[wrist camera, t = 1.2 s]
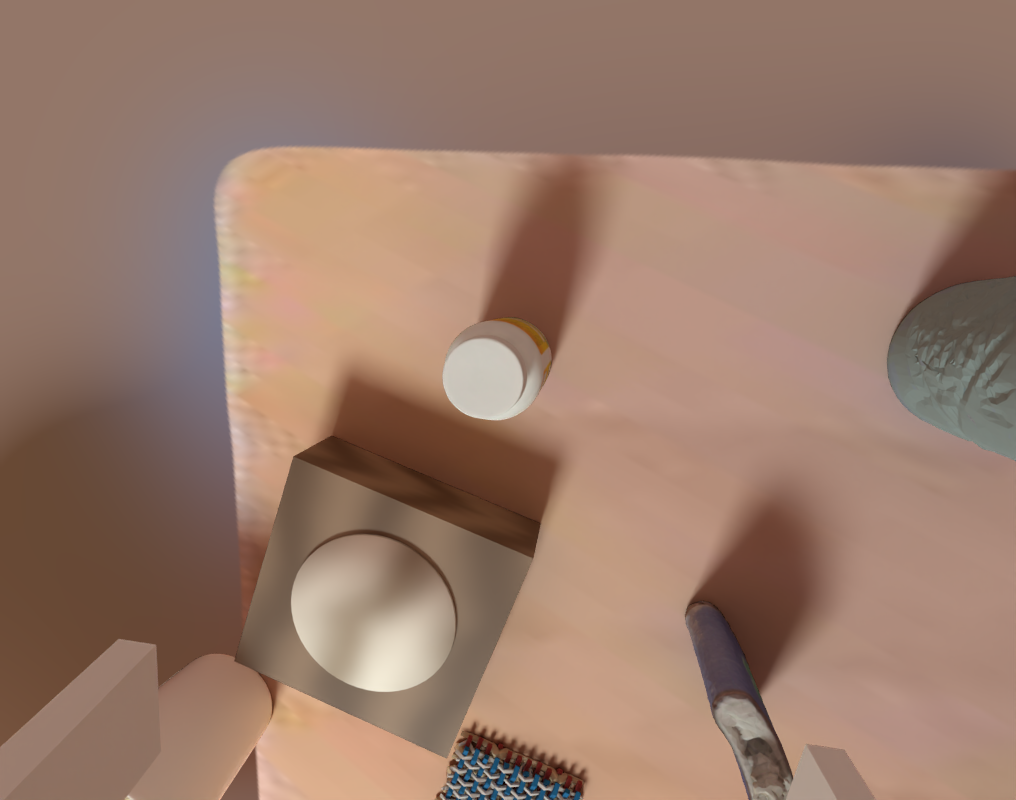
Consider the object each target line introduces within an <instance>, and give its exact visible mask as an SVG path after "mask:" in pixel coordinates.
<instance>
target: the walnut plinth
mask: <svg viewBox="0 0 1016 800" xmlns="http://www.w3.org/2000/svg"><path fill="white" fill-rule="evenodd" d="M539 529H540V523H538V522H536V521H533V520H531V519H528V518H526V517H524V516H521V515H519V514H517V513H514V512H512V511H509V510H507V509H505V508H502V507H500V506H498V505H495V504H493V503H490V502H488V501H486V500H483V499H481V498H479V497H476V496H474V495H471V494H469V493H467V492H464V491H462V490H459V489H457V488H455V487H452V486H450V485H448V484H445V483H443V482H440V481H438V480H436V479H433V478H431V477H429V476H426V475H424V474H421V473H419V472H417V471H414V470H412V469H410V468H407V467H405V466H402V465H400V464H398V463H395V462H393V461H390V460H388V459H386V458H383V457H381V456H379V455H376V454H374V453H371V452H369V451H367V450H364V449H362V448H360V447H357V446H355V445H352V444H350V443H348V442H345V441H343V440H341V439H338V438H336V437H333V436H330V437H329V438H327V439H325V440H323V441H321V442H319V443H318V444H316V445H314V446H312V447H310V448H308V449H306V450H305V451H303V452H301V453H299V454H297V455H295V456H294V457H293V460H292V464H291V467H290V471H289V474H288V477H287V481H286V484H285V488H284V491H283V495H282V498H281V502H280V505H279V508H278V512H277V515H276V519H275V522H274V526H273V529H272V533H271V536H270V539H269V543H268V546H267V550H266V553H265V557H264V560H263V564H262V567H261V570H260V574H259V577H258V581H257V584H256V588H255V591H254V595H253V598H252V601H251V605H250V608H249V612H248V615H247V619H246V622H245V626H244V629H243V632H242V636H241V639H240V643H239V646H238V650H237V653H236V657H235V660H234V661H235V662H237V663H239V664H242V665H244V666H246V667H248V668H250V669H252V670H255V671H257V672H259V673H261V674H263V675H266V676H268V677H270V678H272V679H274V680H276V681H279V682H281V683H283V684H285V685H287V686H290V687H292V688H294V689H296V690H298V691H300V692H303V693H305V694H307V695H309V696H311V697H314V698H316V699H318V700H320V701H322V702H324V703H327V704H329V705H331V706H333V707H335V708H338V709H340V710H342V711H344V712H346V713H348V714H351V715H353V716H355V717H357V718H359V719H362V720H364V721H366V722H368V723H370V724H372V725H375V726H377V727H379V728H381V729H383V730H385V731H388V732H390V733H392V734H394V735H396V736H399V737H401V738H403V739H405V740H407V741H409V742H412V743H414V744H416V745H418V746H420V747H423V748H425V749H427V750H429V751H431V752H433V753H436V754H438V755H440V756H442V757H444V758H447V757H448V755H449V752H450V750H451V748H452V745H453V743H454V741H455V738H456V736H457V734H458V731H459V729H460V727H461V725H462V722H463V720H464V718H465V715H466V713H467V711H468V708H469V706H470V704H471V701H472V699H473V697H474V694H475V692H476V690H477V687H478V685H479V683H480V681H481V678H482V676H483V674H484V671H485V669H486V667H487V664H488V662H489V660H490V657H491V655H492V653H493V650H494V648H495V646H496V644H497V641H498V639H499V637H500V634H501V632H502V630H503V627H504V625H505V623H506V620H507V618H508V616H509V613H510V611H511V609H512V606H513V604H514V602H515V600H516V597H517V595H518V593H519V590H520V588H521V586H522V583H523V581H524V579H525V576H526V574H527V572H528V569H529V567H530V565H531V562H532V560H533V557H534V552H535V548H536V543H537V538H538V533H539Z"/></svg>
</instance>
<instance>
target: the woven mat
mask: <svg viewBox="0 0 1016 800" xmlns="http://www.w3.org/2000/svg"><path fill="white" fill-rule="evenodd" d="M461 736H463V737H465V738H467V740H465V741H463V742H461V743H458V744H457V745H456V746H455V750H456V751H455V753H453V756H452V758H454V759H456V761H458V764H457V765H455V764H454V765H450V766H448V767H447V777H448V778H447V781H448V782H447V784H448V785H447V786H444V787H442V788H441V789H442V790H443V792H445V793H446V794H445V796H444V795H443V794H442V793H441V794H440V796H439V797H436V799H435V800H484V799H485V800H582V799H583V796H581V793H580V789H581V787H582V786H583V784H584V781H583V780H581V779H579V778H577V777H574V776H572V775H570V774H567V773H562V772H563V770H562V769H560V768H558V769H557V770H555V769H554V768H553V767H550V766H548V765H545V764H543V763H542V762H541V761H539V762H538V761H536V760H533V759H531V758H529V757H526V756H524V755H522V754H519V753H517V752H514V751H512V750H510V749H508V748H503V744H501V743H499V744H498V746H497V745H496V744H495V743H493V742H490V741H488V740H486V739H483V738H482V737H480V736H476V735H474V734H472V733H468V732H465V731H462V733H461ZM471 741H473V742H475V743H477V744H476V746H475V748H474V747H473V746H472V744H471ZM481 745H482V746H484V747H486V750H485V752H483V751H481V750H480V747H481ZM502 748H503V749H502ZM490 754H491V755H490ZM478 758H481V759H482V760H481V761H480V760H479V759H478ZM504 759H505V760H504ZM510 759H514V760H516V761H515V763H514V764H512V763H509V762H510ZM487 762H490V763H489V764H487ZM520 763H522V764H521V766H520ZM463 764H465V765H466V766H467V768H462V767H463ZM478 764H479V765H478ZM519 766H520V767H519ZM532 767H533V768H535V771H534V773H533V772H532ZM497 769H500V771H498V770H497ZM528 770H529V772H528ZM540 771H542V772H545V774H544V777H543V776H540V775H539V773H540ZM506 773H510V775H508V774H506ZM459 774H460V775H462V776H464V777H463V779H461V778H460V777H459ZM494 778H497V779H496V782H495V781H493V780H492V779H494ZM469 779H471V780H473V782H468V780H469ZM503 781H505V783H506V784H505V785H504V786H502V784H503ZM528 782H530V783H528ZM478 783H481V784H483V785H482V787H480V786H479V785H478ZM563 784H564V785H563ZM570 784H573V785H576V786H575V788H574V790H573V789H571V788H569V786H570ZM537 785H538V786H537ZM489 787H490V788H492V790H488V791H487V789H488V788H489ZM512 787H516V788H515V790H514V789H512ZM536 788H537V789H536ZM523 790H525V791H526V792H525V794H523V793H522V792H523ZM546 790H549V792H548V791H546ZM558 791H559V792H560V793H559V792H558ZM450 796H453V797H455V799H450ZM568 796H570V798H567V797H568ZM475 797H477V799H476V798H475Z"/></svg>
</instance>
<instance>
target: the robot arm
mask: <svg viewBox="0 0 1016 800" xmlns="http://www.w3.org/2000/svg"><path fill="white" fill-rule="evenodd" d="M160 752H161V741H160V719H159V698H158V676H157V655H156V645H155V644H148V643H141V642H135V641H128V640H122V639H118V640H117V641H116V642H115V643H114V644H113V645H112V646H111V647H110V648H108V649H107V650H106V651H105V652H104V653H103V654H102V655H101V656H100V657H99V658H98V659H96V660H95V661H94V662H93V663H92V664H91V665H90V666H89V667H88V668H86V669H85V670H84V671H83V672H82V673H81V674H80V675H79V676H78V677H77V678H75V679H74V680H73V681H72V682H71V683H70V684H69V685H68V686H67V687H66V688H65V689H63V690H62V691H61V692H60V693H59V694H58V695H57V696H56V697H55V698H54V699H53V700H51V702H49V703H48V704H47V705H46V706H45V707H44V708H43V709H42V710H40V711H39V712H38V713H37V714H36V715H35V716H34V717H33V718H32V719H31V720H30V721H28V722H27V723H26V724H25V725H24V726H23V727H22V728H21V729H20V730H19V731H17V732H16V733H15V734H14V735H13V736H12V737H11V738H10V739H9V740H8V741H7V742H5V743H4V744H3V745H2V746H1V747H0V800H125V798H126V797H127V796H128V795H129V793H130V792H131V791H132V789H133V788H134V787H135V785H136V784H137V783H138V781H139V780H140V779H141V777H142V776H143V775H144V773H145V772H146V771H147V769H148V768H149V767H150V766H151V764H152V763H153V762H154V760H155V759H156V758H157V756H158V755H159V754H160ZM786 800H876V799H875V798H874V796H873V794H872V793H871V791H870V790H869V788H868V786H867V785H866V783H865V782H864V780H863V779H862V777H861V775H860V774H859V772H858V771H857V769H856V767H855V766H854V764H853V763H852V761H851V759H850V758H849V756H848V755H847V753H846V752H845V750H843V749H836V748H830V747H823V746H817V745H810V744H806V745H805V748H804V750H803V753H802V756H801V759H800V761H799V764H798V767H797V770H796V772H795V775H794V778H793V781H792V783H791V786H790V789H789V792H788V795H787V797H786Z"/></svg>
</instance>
